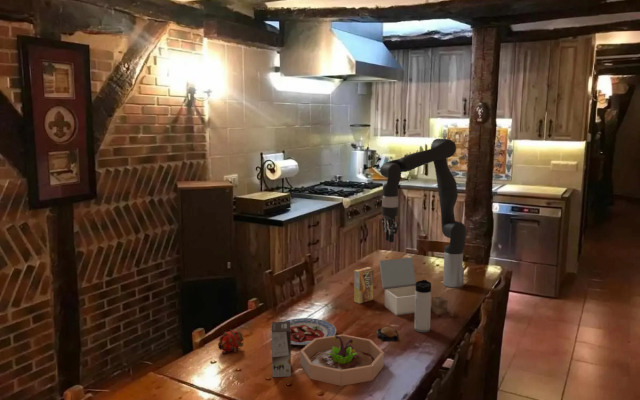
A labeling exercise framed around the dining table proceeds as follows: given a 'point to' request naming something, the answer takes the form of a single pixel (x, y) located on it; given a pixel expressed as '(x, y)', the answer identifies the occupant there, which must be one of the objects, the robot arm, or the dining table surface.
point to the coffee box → (281, 349)
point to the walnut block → (439, 305)
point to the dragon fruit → (230, 341)
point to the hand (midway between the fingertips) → (389, 241)
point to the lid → (397, 273)
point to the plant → (342, 357)
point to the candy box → (363, 285)
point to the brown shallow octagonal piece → (347, 374)
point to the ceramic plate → (309, 330)
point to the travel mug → (422, 306)
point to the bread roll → (387, 334)
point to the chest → (400, 300)
